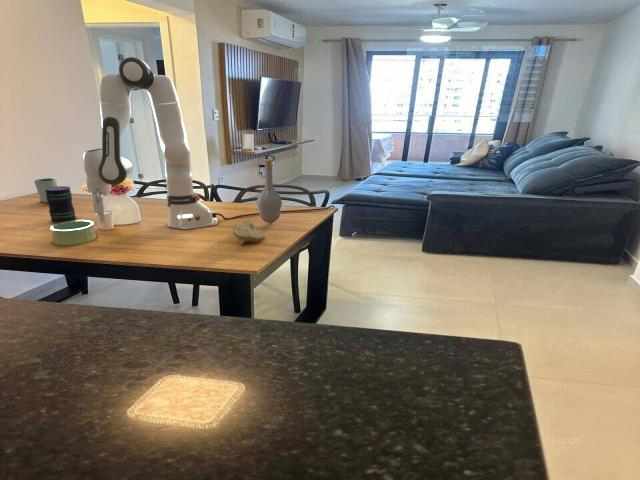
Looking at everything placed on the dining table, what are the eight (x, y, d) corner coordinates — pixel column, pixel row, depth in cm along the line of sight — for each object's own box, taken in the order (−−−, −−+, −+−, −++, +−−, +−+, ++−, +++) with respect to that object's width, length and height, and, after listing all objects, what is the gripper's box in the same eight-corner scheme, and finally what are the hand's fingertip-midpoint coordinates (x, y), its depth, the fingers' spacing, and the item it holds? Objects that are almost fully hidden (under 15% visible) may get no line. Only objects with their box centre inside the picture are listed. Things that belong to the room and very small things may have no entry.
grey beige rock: (256, 239, 164) (227, 220, 158) (267, 229, 161) (238, 209, 155) (253, 262, 152) (222, 242, 145) (265, 251, 149) (233, 230, 142)
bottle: (275, 228, 174) (274, 162, 164) (253, 225, 177) (251, 160, 168) (285, 222, 184) (285, 159, 174) (264, 219, 187) (262, 157, 178)
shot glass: (108, 230, 165) (105, 215, 163) (94, 229, 166) (91, 214, 164) (119, 226, 171) (116, 211, 169) (105, 225, 173) (103, 210, 170)
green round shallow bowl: (98, 232, 162) (95, 219, 160) (93, 243, 150) (90, 228, 148) (57, 236, 157) (55, 222, 155) (49, 247, 144) (46, 232, 142)
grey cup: (59, 201, 213) (55, 180, 209) (37, 203, 208) (32, 181, 204) (60, 198, 221) (56, 177, 217) (39, 199, 216) (34, 178, 212)
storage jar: (56, 223, 173) (49, 191, 168) (47, 219, 179) (40, 188, 174) (79, 219, 181) (73, 188, 176) (71, 215, 186) (65, 185, 182)
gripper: (105, 191, 155) (109, 224, 159) (109, 183, 173) (113, 212, 177) (87, 192, 152) (92, 225, 157) (93, 183, 170) (98, 213, 175)
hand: (103, 218), depth 167 cm, fingers open, 8 cm apart
